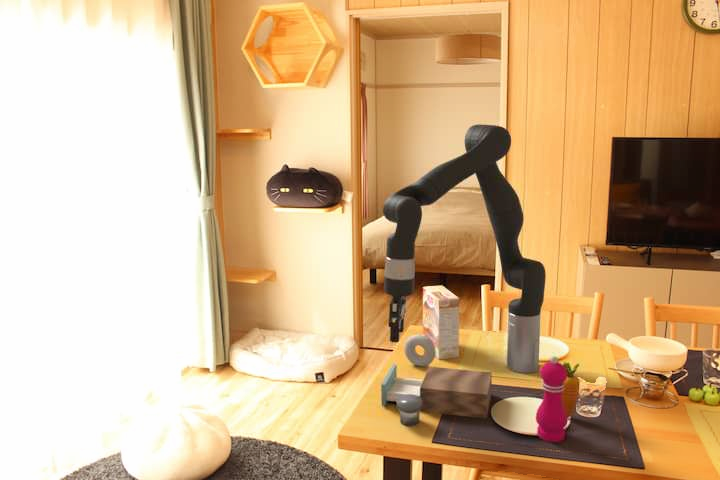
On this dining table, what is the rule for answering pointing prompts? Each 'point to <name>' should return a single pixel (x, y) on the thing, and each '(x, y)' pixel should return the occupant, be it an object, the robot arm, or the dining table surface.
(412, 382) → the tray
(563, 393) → the carrot
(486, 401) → the housing
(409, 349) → the donut
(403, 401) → the grey domed disc
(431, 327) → the coffeecake box
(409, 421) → the shiny metal cylinder
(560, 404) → the pepper mill
